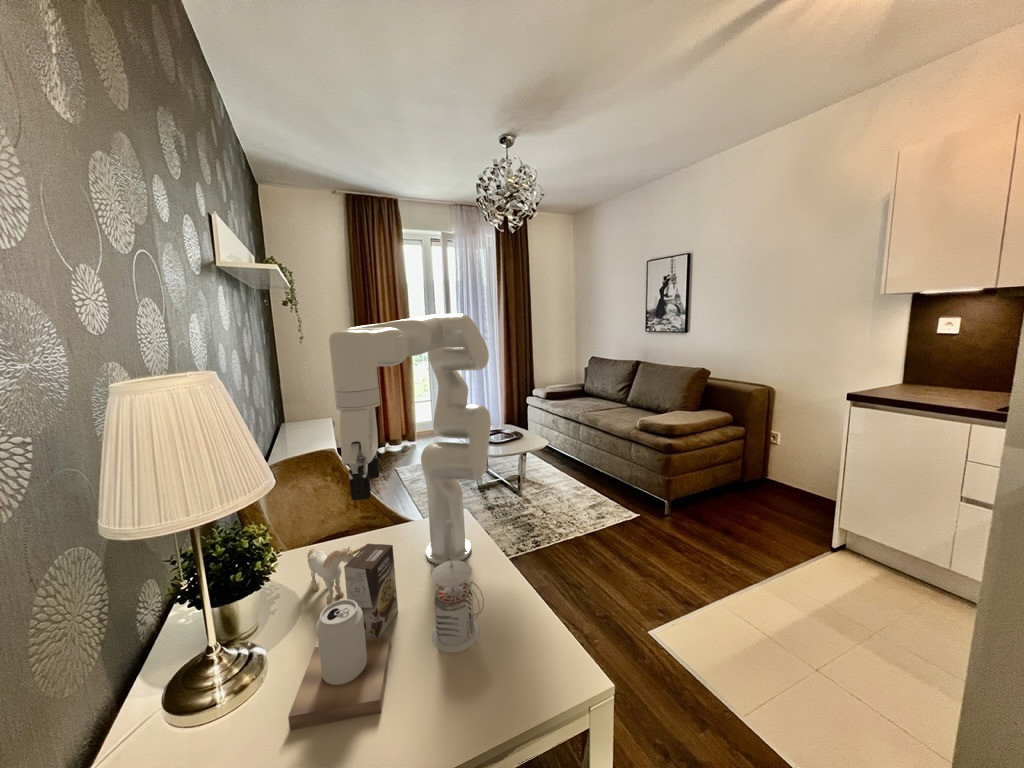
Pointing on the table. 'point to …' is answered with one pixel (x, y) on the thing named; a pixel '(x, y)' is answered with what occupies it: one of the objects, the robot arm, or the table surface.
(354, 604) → the can
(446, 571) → the french press
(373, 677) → the riser
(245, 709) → the table surface
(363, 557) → the coffee box
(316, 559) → the unicorn figurine
